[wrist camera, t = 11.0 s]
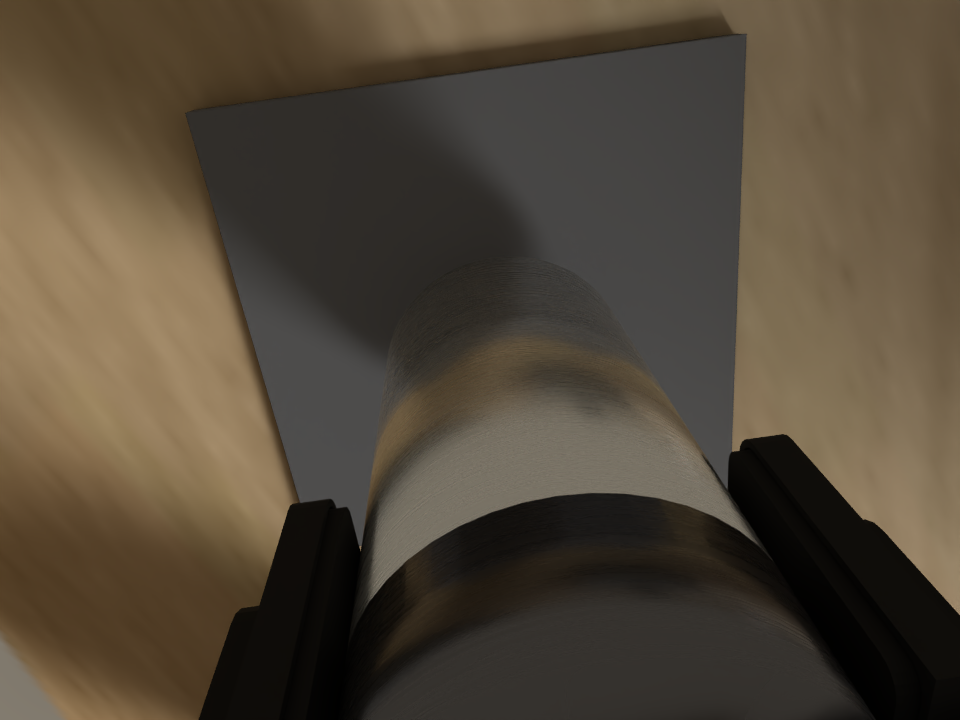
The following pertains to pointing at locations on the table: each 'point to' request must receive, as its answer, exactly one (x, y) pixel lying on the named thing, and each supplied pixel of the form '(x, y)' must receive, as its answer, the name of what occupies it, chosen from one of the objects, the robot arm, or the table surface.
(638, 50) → the mat
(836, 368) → the table surface
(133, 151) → the table surface
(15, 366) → the table surface
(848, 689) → the white and black cylinder
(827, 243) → the table surface
